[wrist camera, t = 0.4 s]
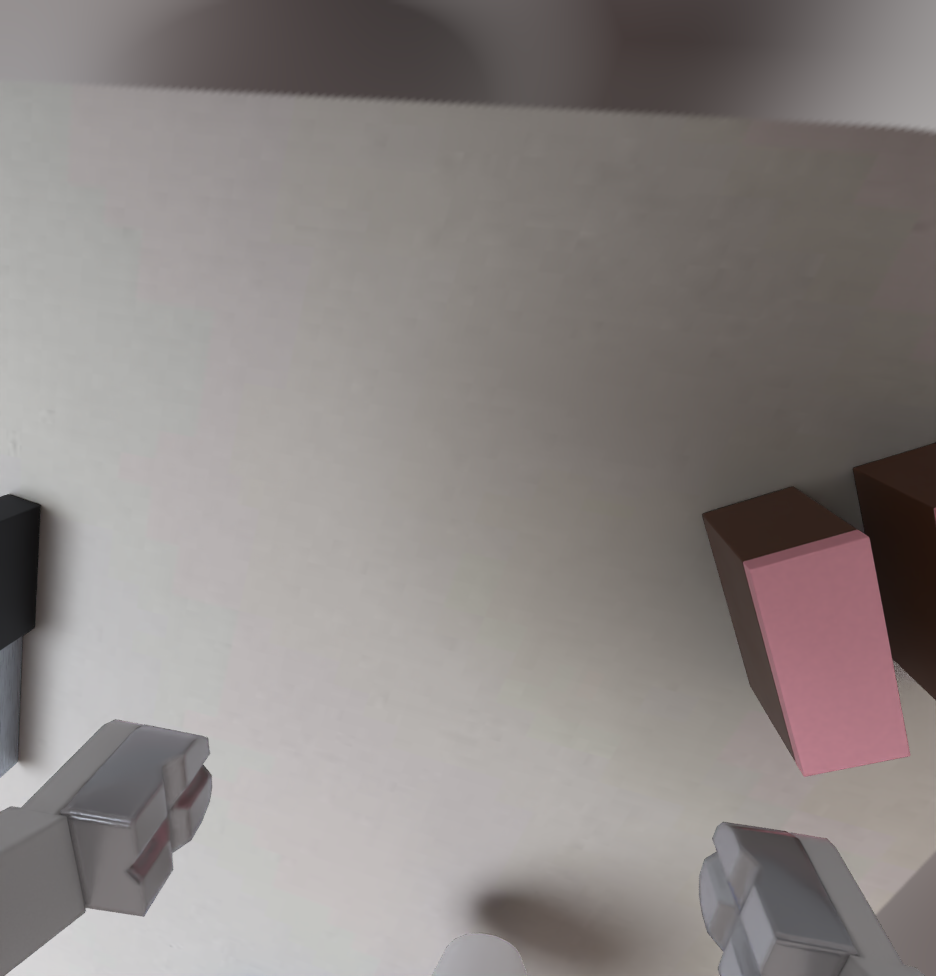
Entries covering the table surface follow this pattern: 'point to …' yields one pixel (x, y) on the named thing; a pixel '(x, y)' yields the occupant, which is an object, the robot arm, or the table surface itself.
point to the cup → (480, 957)
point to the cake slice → (810, 629)
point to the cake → (904, 553)
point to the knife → (15, 611)
